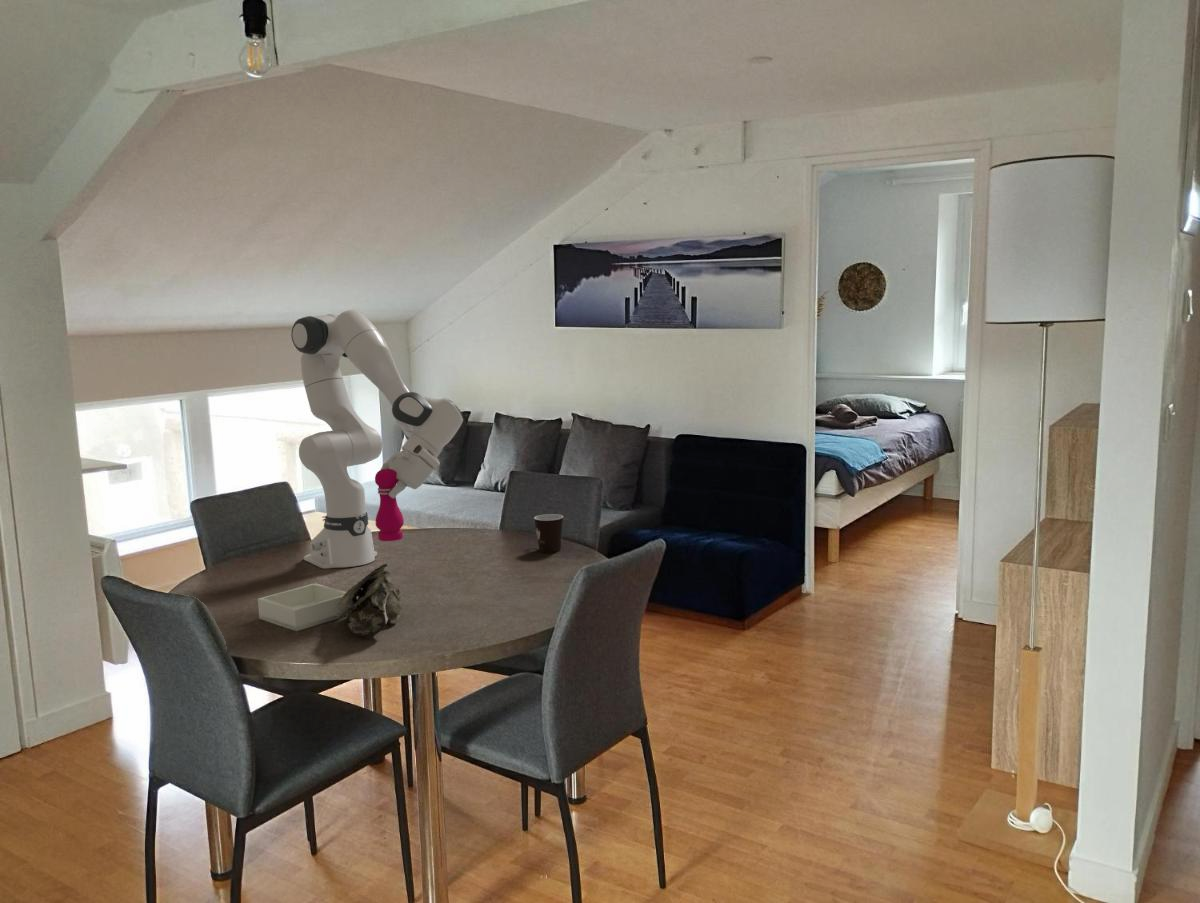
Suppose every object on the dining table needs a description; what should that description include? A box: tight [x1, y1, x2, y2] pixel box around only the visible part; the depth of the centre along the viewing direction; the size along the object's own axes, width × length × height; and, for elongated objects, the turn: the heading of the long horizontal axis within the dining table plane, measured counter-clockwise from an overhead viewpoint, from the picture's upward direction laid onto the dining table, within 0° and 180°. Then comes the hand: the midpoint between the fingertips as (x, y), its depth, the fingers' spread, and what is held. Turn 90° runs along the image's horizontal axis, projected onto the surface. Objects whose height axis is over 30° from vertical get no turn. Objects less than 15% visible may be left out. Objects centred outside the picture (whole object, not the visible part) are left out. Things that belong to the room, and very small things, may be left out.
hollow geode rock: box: [335, 563, 404, 639], centre depth 232 cm, size 28×13×15 cm
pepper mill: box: [374, 462, 405, 542], centre depth 259 cm, size 7×7×20 cm
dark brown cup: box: [533, 513, 564, 554], centre depth 299 cm, size 12×9×10 cm
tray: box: [257, 582, 348, 632], centre depth 242 cm, size 16×16×5 cm
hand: (385, 494), depth 259 cm, fingers closed on pepper mill, 5 cm apart
